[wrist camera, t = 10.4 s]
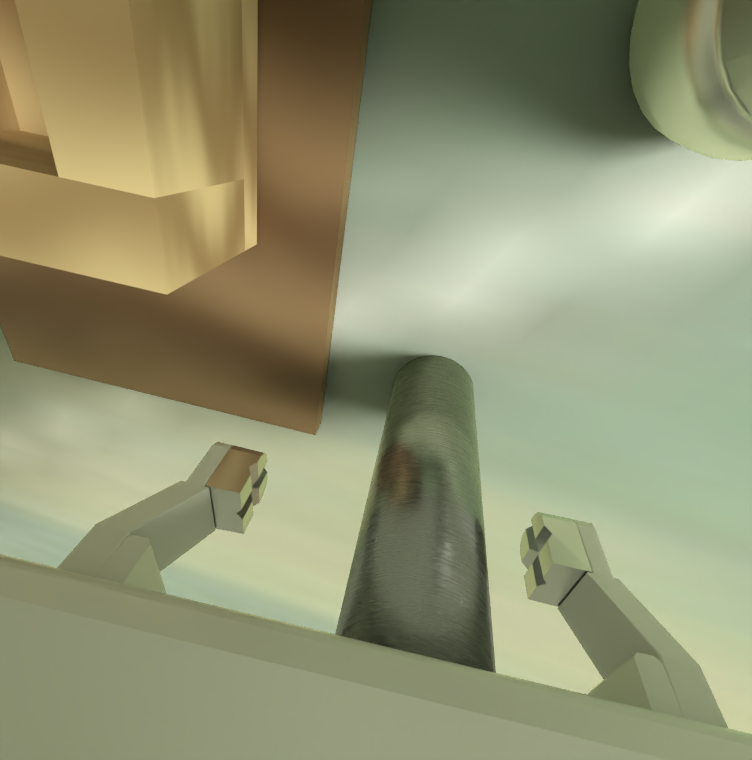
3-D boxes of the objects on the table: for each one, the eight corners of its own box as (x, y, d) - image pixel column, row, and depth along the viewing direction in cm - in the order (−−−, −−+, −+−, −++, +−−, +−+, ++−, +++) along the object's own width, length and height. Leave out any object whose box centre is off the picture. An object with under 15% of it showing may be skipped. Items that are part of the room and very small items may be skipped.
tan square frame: (256, 244, 15) (167, 294, 10) (8, 188, 15) (-187, 212, 10) (258, -188, 9) (61, -514, 5) (-133, -255, 10) (-667, -611, 5)
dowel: (459, 428, 19) (468, 760, 9) (387, 411, 19) (315, 716, 9) (483, 366, 17) (528, 701, 7) (402, 347, 17) (332, 648, 7)
